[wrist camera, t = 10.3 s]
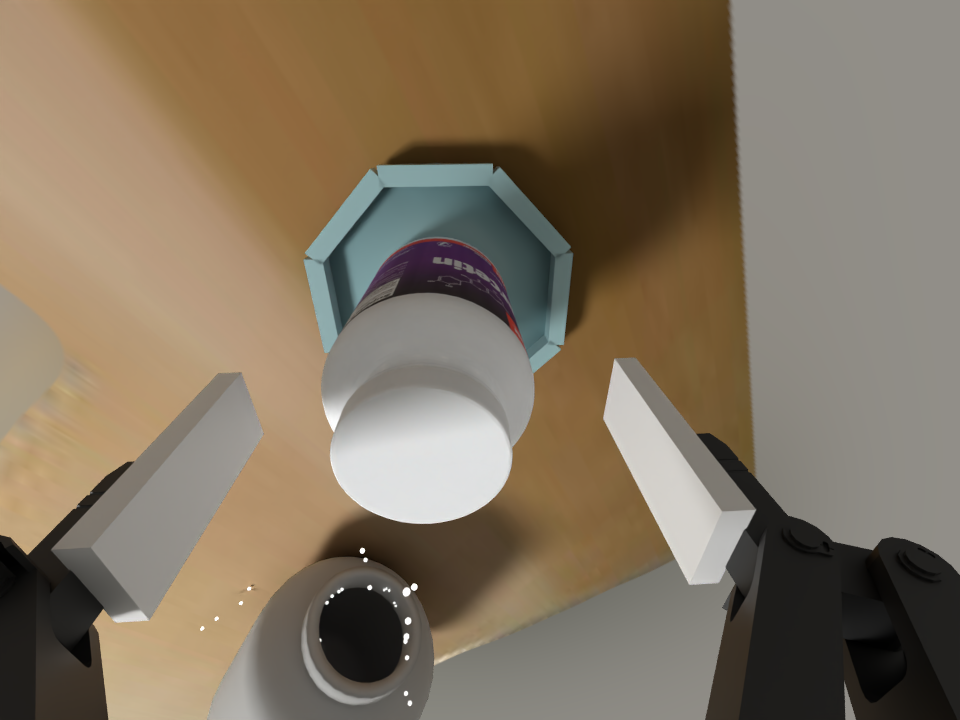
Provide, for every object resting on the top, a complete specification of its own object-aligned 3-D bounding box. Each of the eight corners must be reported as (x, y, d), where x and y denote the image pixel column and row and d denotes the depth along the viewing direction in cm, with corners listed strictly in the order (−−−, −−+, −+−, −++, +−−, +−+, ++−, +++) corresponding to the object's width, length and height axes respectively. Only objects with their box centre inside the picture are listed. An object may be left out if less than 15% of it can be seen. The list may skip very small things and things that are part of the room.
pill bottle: (530, 302, 25) (608, 466, 13) (439, 377, 27) (426, 579, 15) (441, 200, 22) (424, 281, 9) (345, 294, 24) (228, 462, 12)
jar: (148, 648, 34) (262, 528, 23) (303, 561, 47) (427, 455, 35) (232, 902, 29) (433, 912, 18) (380, 728, 42) (555, 668, 30)
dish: (296, 164, 21) (282, 166, 20) (572, 160, 22) (582, 162, 20) (345, 396, 29) (338, 412, 27) (551, 388, 29) (557, 403, 28)
